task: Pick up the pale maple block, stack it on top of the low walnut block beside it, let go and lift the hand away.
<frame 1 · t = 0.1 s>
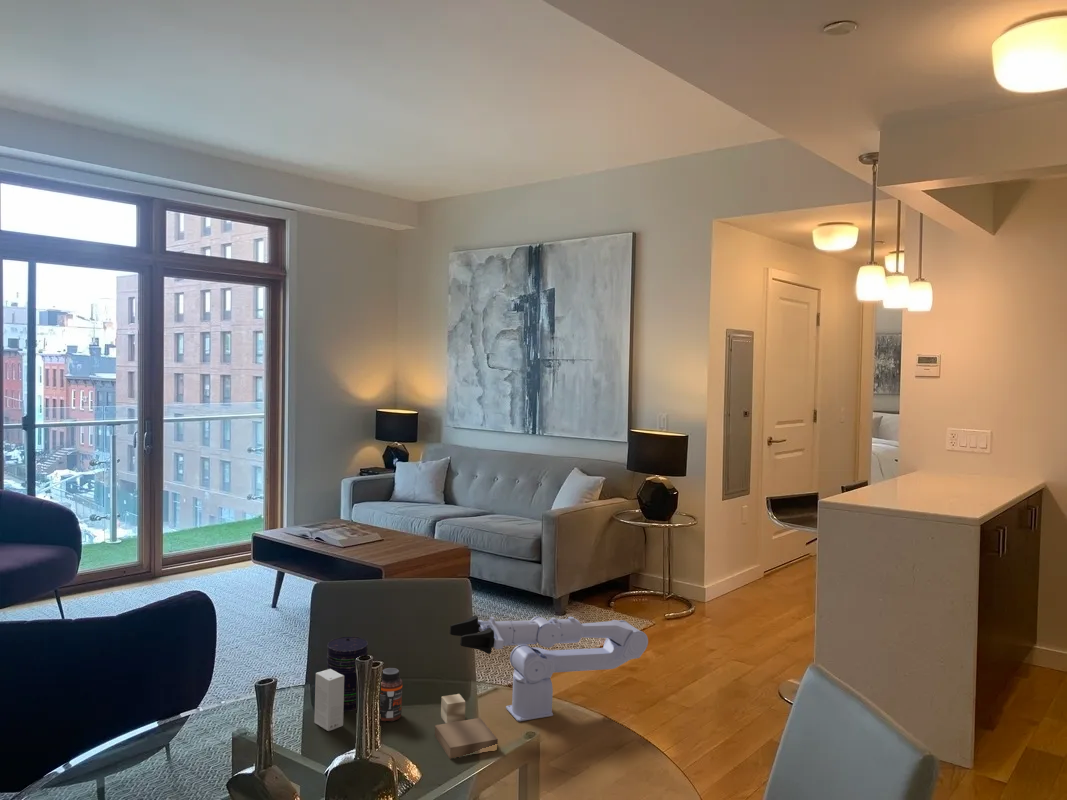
hand: (455, 635, 185), 22 cm above the table, tool horizontal, fingers open, 7 cm apart
walnut block: (465, 745, 178), on the table
storage jar: (346, 703, 196), on the table
skincare box: (328, 725, 184), on the table
maple block: (452, 719, 190), on the table
supplement bottle: (388, 717, 189), on the table
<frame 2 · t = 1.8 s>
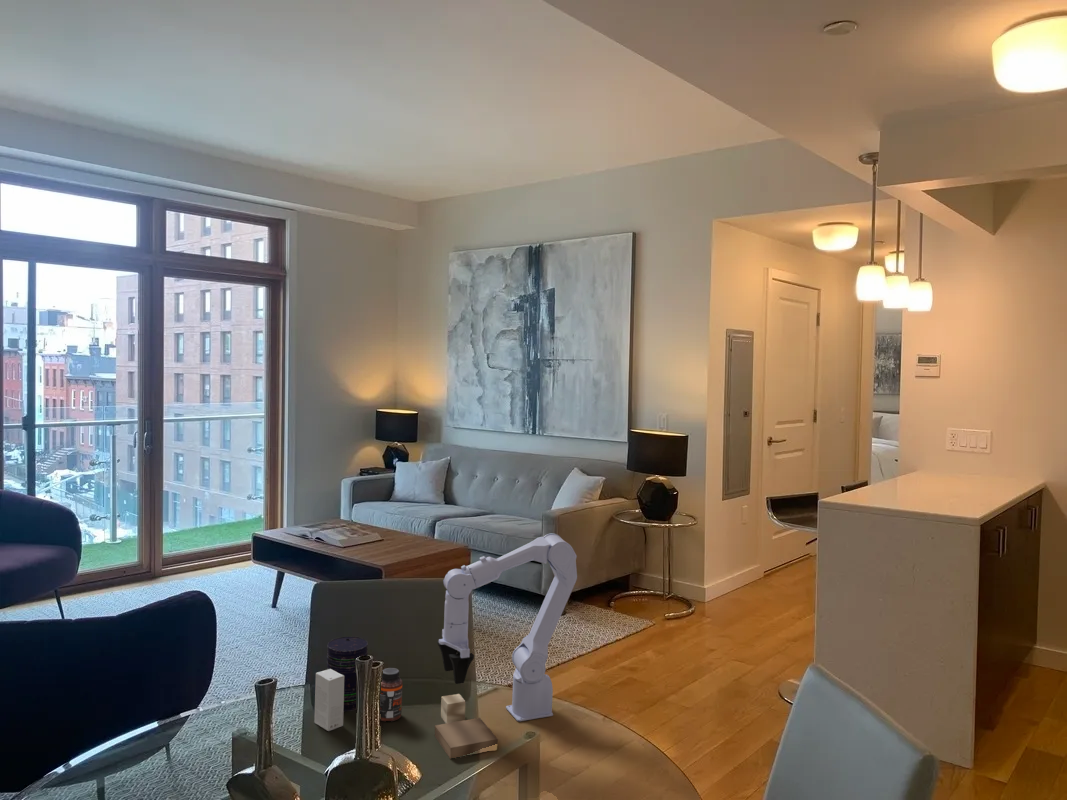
hand: (454, 676, 189), 10 cm above the table, tool pointing down, fingers open, 7 cm apart
nothing on the table moved.
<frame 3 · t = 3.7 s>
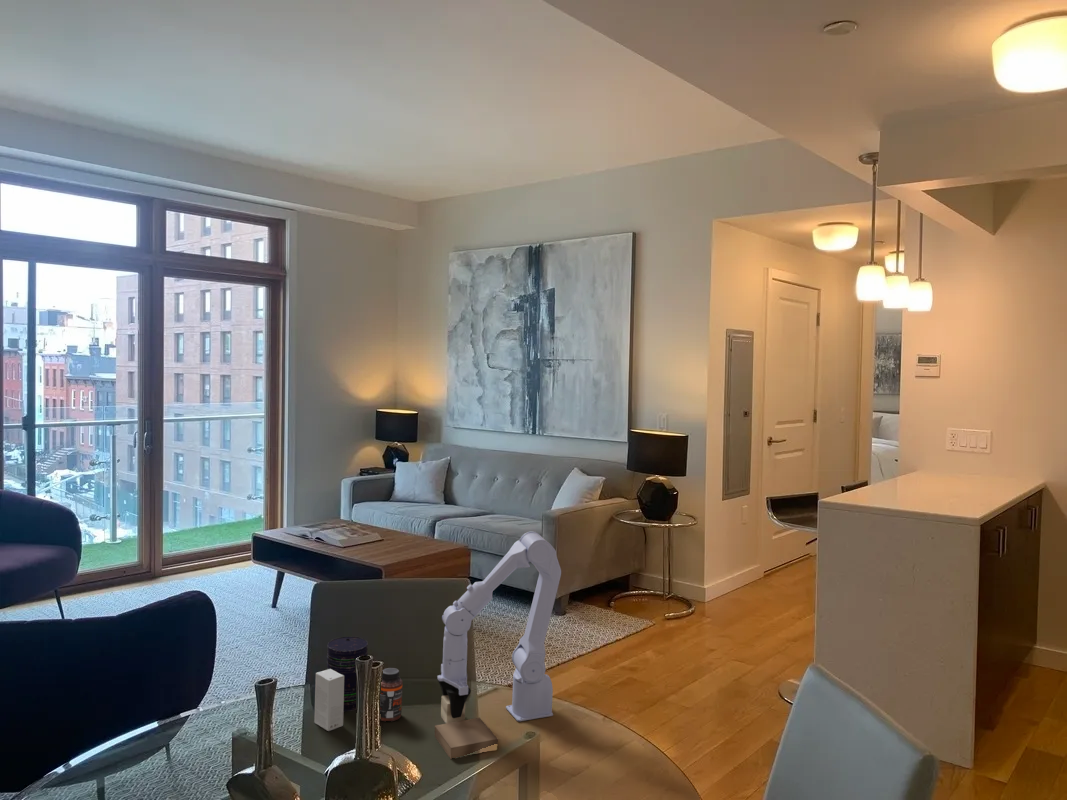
hand: (452, 712, 190), 2 cm above the table, tool pointing down, fingers closed on maple block, 4 cm apart
maple block: (452, 718, 190), on the table, touching gripper
everything else where it was.
when the fingers open (6 cm above the table, at t = 6.9 s): maple block drops 1 cm, resting on walnut block.
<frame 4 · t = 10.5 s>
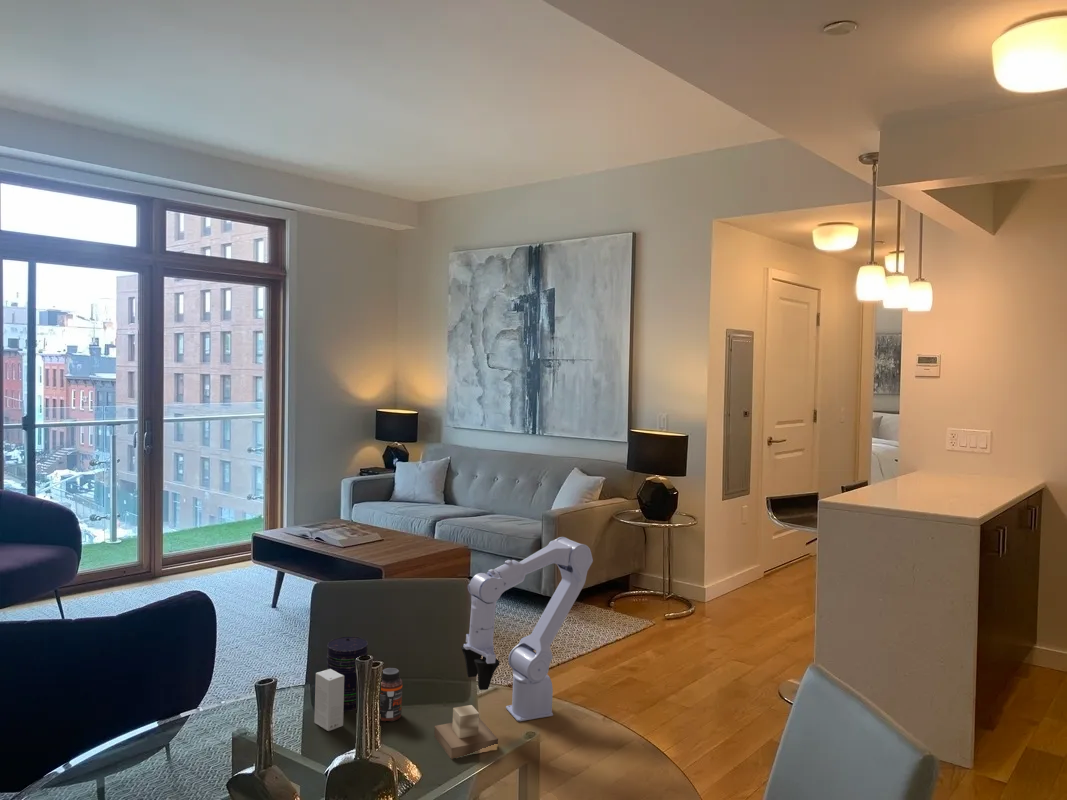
hand: (477, 682, 186), 10 cm above the table, tool pointing down, fingers open, 7 cm apart
walnut block: (465, 745, 178), on the table, touching maple block
maple block: (465, 732, 178), point 2 cm above the table, touching walnut block
everything else where it was.
at the end: maple block inside the target area on the walnut block (0.2 cm from its centre), point 3.0 cm above the walnut block's base; maple block tilted 0°; the gripper is holding nothing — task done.
